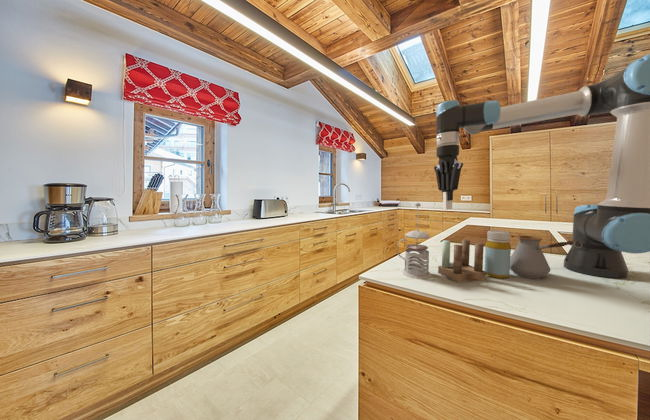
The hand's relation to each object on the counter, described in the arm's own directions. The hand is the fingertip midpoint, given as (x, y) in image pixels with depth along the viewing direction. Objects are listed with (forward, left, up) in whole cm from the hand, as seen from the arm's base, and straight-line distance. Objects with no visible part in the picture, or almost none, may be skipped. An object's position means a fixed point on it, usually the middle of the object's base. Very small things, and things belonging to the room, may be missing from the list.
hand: (447, 209), depth 92 cm
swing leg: (+4, +8, -19) cm, 21 cm away
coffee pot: (-19, +20, -22) cm, 35 cm away
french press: (+17, +5, -22) cm, 28 cm away
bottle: (-9, +13, -22) cm, 27 cm away
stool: (+3, +11, -22) cm, 25 cm away
